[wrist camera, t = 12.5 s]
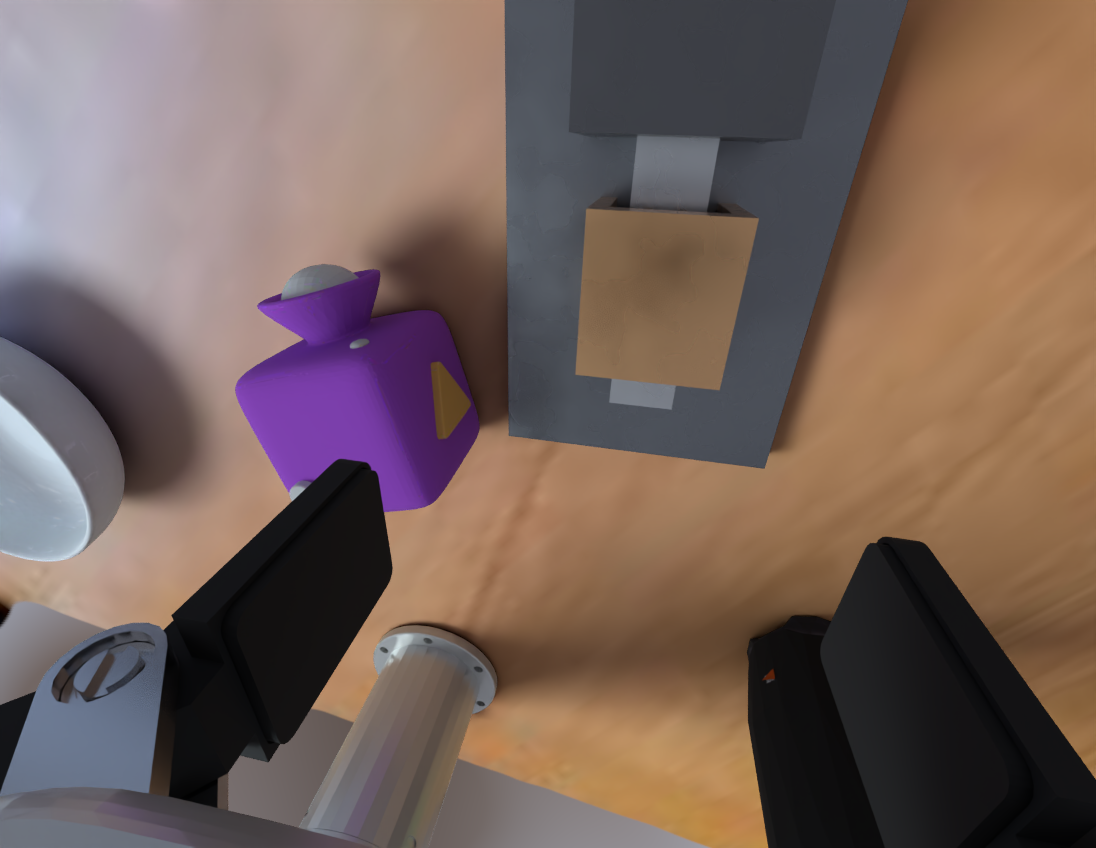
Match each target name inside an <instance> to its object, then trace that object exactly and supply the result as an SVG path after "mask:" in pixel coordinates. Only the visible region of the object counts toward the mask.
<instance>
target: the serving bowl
mask: <svg viewBox="0 0 1096 848" xmlns="http://www.w3.org/2000/svg"><path fill="white" fill-rule="evenodd" d="M124 484H125V473H124V465H123V461H122V457H121V454H120V450H119V447H118V445H117V443H116V440H115V438H114V436H113V434H112V433H111V431H110V429H109V427H108V426H107V424H106V423H105V421H104V420H103V418H102V417H101V415H100V414H99V412H98V411H97V410H96V409H95V407H94V406H93V405H92V404H91V402H90V401H89V400H88V399H87V398H86V397H85V396H84V395H83V394H82V393H81V391H80V390H79V389H78V388H76V387H75V386H74V385H73V384H72V383H71V382H70V381H69V380H68V379H67V378H66V377H64V376H63V375H62V374H61V373H60V372H58V371H57V370H56V369H55V368H53V367H52V366H51V365H49V364H48V363H46V362H45V361H43V360H42V359H40V358H39V357H37V356H36V355H34V354H33V353H31V352H29V351H28V350H26V349H24V348H22V347H20V346H18V345H16V344H14V343H13V342H11V341H8V340H6V339H4V338H2V337H0V552H3V553H6V554H9V555H13V556H16V557H20V558H24V559H29V560H36V561H60V560H65V559H69V558H72V557H74V556H76V555H78V554H80V553H81V552H82V551H84V550H85V549H86V548H87V547H88V546H89V545H90V544H91V543H92V542H93V541H95V540H96V539H97V538H98V537H99V536H100V535H101V534H102V533H103V532H104V530H105V529H106V528H107V527H108V525H109V524H110V523H111V521H112V520H113V518H114V517H115V515H116V513H117V511H118V509H119V506H120V504H121V501H122V497H123V492H124Z"/></svg>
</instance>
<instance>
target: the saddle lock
mask: <svg viewBox="0 0 1096 848" xmlns="http://www.w3.org/2000/svg"><path fill="white" fill-rule="evenodd" d="M758 221H759V218H758V217H756V216H754V215H753V214H751V213H750V212H748V211H747V210H745V209H743V208H742V207H740V206H739V205H737V204H732V203H718V208H717V213H710V212H692V211H674V210H656V209H638V208H619V207H617V198H616V197H600V198H599V199H598V200H597V201H595V202H594V203H593V204H592V205H590V206H589V207H588V208H587V209H586V221H585V236H584V251H583V266H582V282H581V297H580V312H579V327H578V342H577V357H576V373H575V375H582V376H592V377H601V378H610V379H619V380H629V381H638V382H647V383H656V384H666V385H675V386H684V387H694V388H703V389H712V390H720V386H721V382H722V378H723V373H724V369H725V364H726V360H727V356H728V351H729V347H730V343H731V338H732V334H733V330H734V325H735V321H736V317H737V312H738V308H739V304H740V299H741V295H742V290H743V286H744V282H745V277H746V273H747V269H748V264H749V260H750V256H751V251H752V247H753V243H754V238H755V234H756V229H757V225H758Z"/></svg>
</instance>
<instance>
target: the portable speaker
mask: <svg viewBox="0 0 1096 848" xmlns="http://www.w3.org/2000/svg"><path fill="white" fill-rule="evenodd" d="M830 623H831V622H830V621H827V620H824V619H822V618H819V617H801V616H792V617H791V618H790V620H789V621H788V622H787V623H786V625H785V626H783V627H781V628H779V629H777V630H775V631H773V632H771V633H769V634H767V635H765V636H763V637H761V638H760V639H758V638H752V639H750V641H749V646H748V650H747V655H748V660H749V670H748V724H749V730H750V736H751V742H752V748H753V755H754V761H755V767H756V773H757V780H758V786H759V792H760V798H761V805H762V811H763V817H764V823H765V829H766V836H767V842H768V848H885V846H884V843H883V840H882V837H881V834H880V831H879V828H878V826H877V823H876V820H875V817H874V814H873V811H872V808H871V805H870V802H869V799H868V796H867V793H866V790H865V787H864V785H863V782H862V779H861V776H860V773H859V770H858V767H857V764H856V761H855V758H854V755H853V752H852V749H851V746H850V744H849V741H848V738H847V735H846V732H845V729H844V726H843V723H842V720H841V717H840V714H839V711H838V708H837V706H836V703H835V700H834V697H833V694H832V691H831V688H830V685H829V682H828V679H827V676H826V673H825V670H824V667H823V665H822V661H821V654H820V648H821V643H822V640H823V638H824V636H825V634H826V631H827V629H828V627H829V625H830Z"/></svg>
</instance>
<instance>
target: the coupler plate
mask: <svg viewBox="0 0 1096 848" xmlns="http://www.w3.org/2000/svg"><path fill="white" fill-rule="evenodd" d="M907 2H908V0H505V84H506V190H507V296H508V402H509V436H515V437H523V438H531V439H538V440H546V441H554V442H562V443H569V444H577V445H585V446H593V447H601V448H608V449H616V450H624V451H632V452H639V453H647V454H655V455H663V456H671V457H678V458H686V459H694V460H702V461H709V462H717V463H725V464H733V465H740V466H748V467H756V468H764V469H765V465H766V462H767V459H768V456H769V452H770V449H771V446H772V442H773V439H774V436H775V433H776V429H777V426H778V423H779V420H780V416H781V413H782V410H783V407H784V403H785V400H786V397H787V394H788V390H789V387H790V384H791V380H792V377H793V374H794V371H795V367H796V364H797V361H798V358H799V354H800V351H801V348H802V345H803V341H804V338H805V335H806V332H807V328H808V325H809V322H810V318H811V315H812V312H813V309H814V305H815V302H816V299H817V296H818V292H819V289H820V286H821V283H822V279H823V276H824V273H825V269H826V266H827V263H828V260H829V256H830V253H831V250H832V247H833V243H834V240H835V237H836V234H837V230H838V227H839V224H840V221H841V217H842V214H843V211H844V207H845V204H846V201H847V198H848V194H849V191H850V188H851V185H852V181H853V178H854V175H855V172H856V168H857V165H858V162H859V159H860V155H861V152H862V149H863V145H864V142H865V139H866V136H867V132H868V129H869V126H870V123H871V119H872V116H873V113H874V110H875V106H876V103H877V100H878V96H879V93H880V90H881V87H882V83H883V80H884V77H885V74H886V70H887V67H888V64H889V61H890V57H891V54H892V51H893V48H894V44H895V41H896V38H897V34H898V31H899V28H900V25H901V21H902V18H903V15H904V12H905V8H906V5H907ZM600 197H616V198H617V207H619V208H638V209H656V210H674V211H692V212H710V213H717V208H718V203H732V204H737V205H739V206H740V207H742V208H743V209H745V210H747V211H748V212H750V213H751V214H753V215H754V216H756V217H758V218H759V221H758V225H757V229H756V234H755V238H754V243H753V247H752V251H751V256H750V260H749V264H748V269H747V273H746V277H745V282H744V286H743V290H742V295H741V299H740V304H739V308H738V312H737V317H736V321H735V325H734V330H733V334H732V338H731V343H730V347H729V351H728V356H727V360H726V364H725V369H724V373H723V378H722V382H721V386H720V390H712V389H703V388H694V387H684V386H675V385H666V384H656V383H647V382H638V381H629V380H619V379H610V378H601V377H592V376H582V375H575V373H576V357H577V342H578V327H579V312H580V297H581V282H582V266H583V251H584V236H585V221H586V209H587V208H588V207H589V206H590V205H592V204H593V203H594V202H595V201H597V200H598V199H599V198H600Z"/></svg>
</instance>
